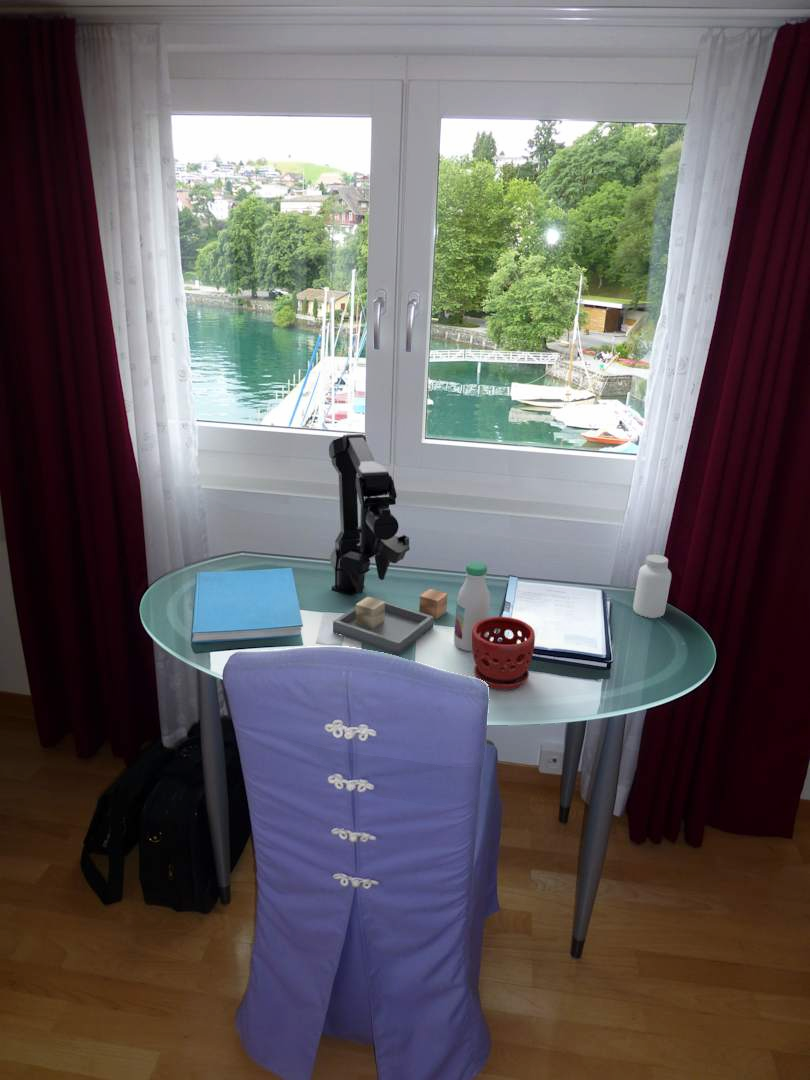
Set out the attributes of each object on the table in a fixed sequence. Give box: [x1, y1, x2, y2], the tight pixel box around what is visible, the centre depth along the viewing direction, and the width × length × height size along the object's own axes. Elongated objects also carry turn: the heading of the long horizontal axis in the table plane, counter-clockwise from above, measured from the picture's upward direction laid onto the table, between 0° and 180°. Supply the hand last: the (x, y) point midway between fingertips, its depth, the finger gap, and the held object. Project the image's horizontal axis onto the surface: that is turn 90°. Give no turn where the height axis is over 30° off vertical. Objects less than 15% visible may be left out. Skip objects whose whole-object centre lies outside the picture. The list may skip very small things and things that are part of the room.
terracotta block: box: [418, 588, 449, 620], centre depth 202 cm, size 5×5×5 cm
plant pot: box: [472, 616, 536, 690], centre depth 173 cm, size 13×13×12 cm
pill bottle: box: [632, 554, 672, 619], centre depth 206 cm, size 8×8×15 cm
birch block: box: [355, 596, 386, 629], centre depth 194 cm, size 5×5×5 cm
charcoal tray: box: [332, 596, 435, 656], centre depth 193 cm, size 18×16×3 cm
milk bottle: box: [453, 561, 491, 653], centre depth 185 cm, size 8×8×20 cm
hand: (370, 585), depth 191 cm, fingers open, 9 cm apart
